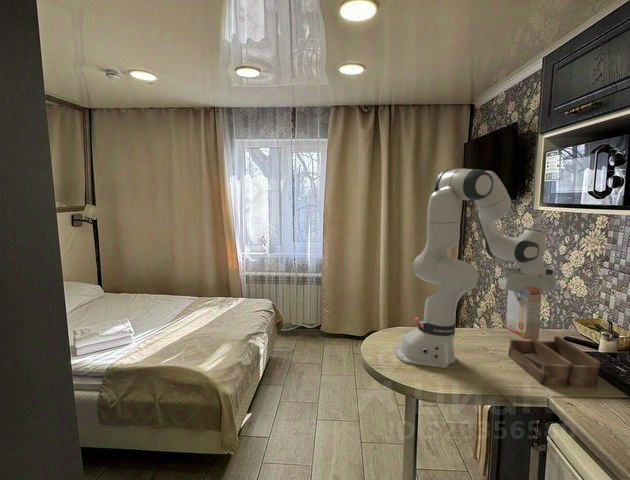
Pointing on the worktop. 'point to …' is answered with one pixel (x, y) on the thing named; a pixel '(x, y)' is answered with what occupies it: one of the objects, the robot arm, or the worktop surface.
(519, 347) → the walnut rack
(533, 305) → the cracker box
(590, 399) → the worktop surface
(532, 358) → the dark stained offcut
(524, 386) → the worktop surface
